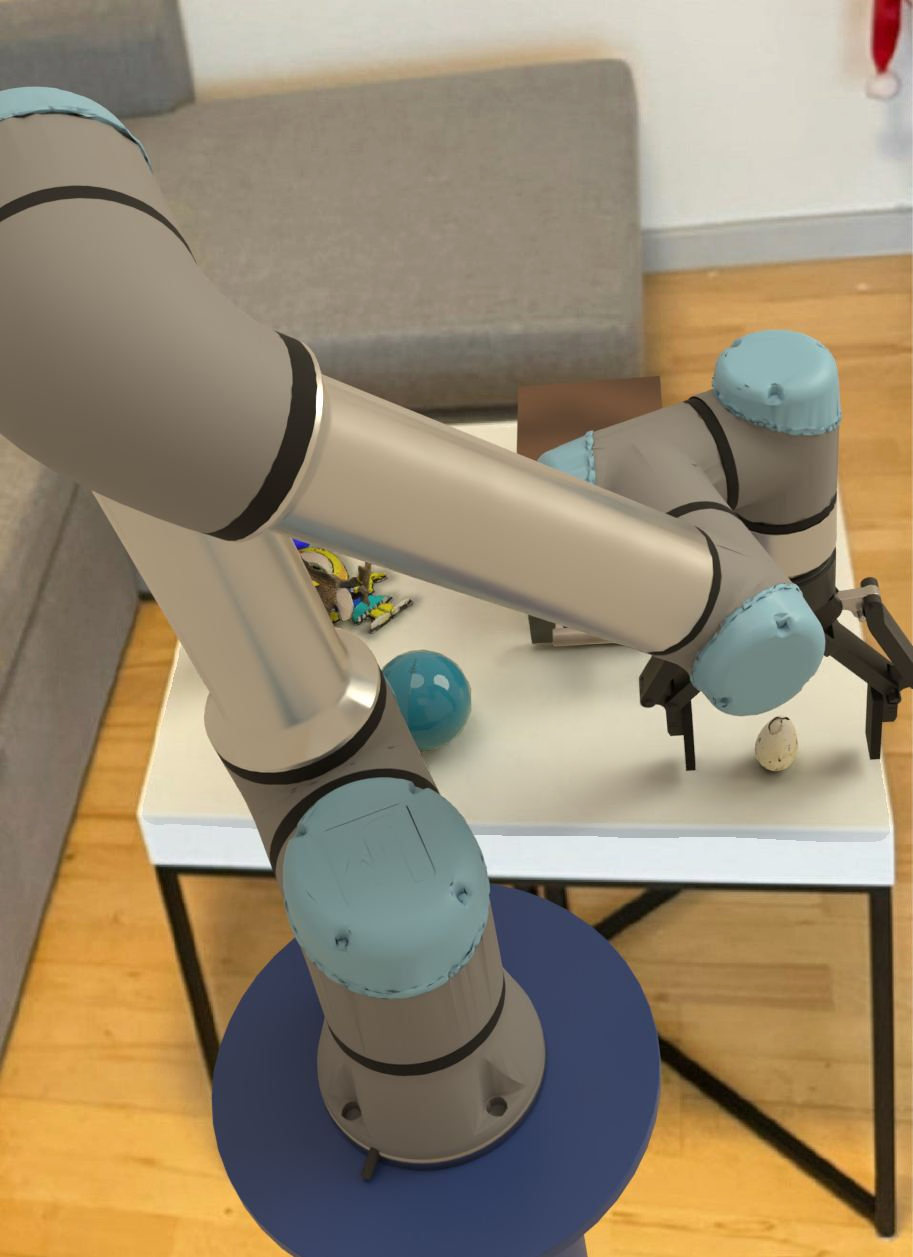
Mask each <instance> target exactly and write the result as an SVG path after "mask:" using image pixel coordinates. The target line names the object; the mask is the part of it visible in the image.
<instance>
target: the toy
mask: <svg viewBox="0 0 913 1257" xmlns="http://www.w3.org/2000/svg"><path fill="white" fill-rule="evenodd" d="M299 552H300V555H301V557H302V558H303V559H304V560H305V561H307V562H308V564H309V565H310V566H312V567H313V568H314V569H317V570H322V571H324V572H326V573H333V574H335V575H337V576H338V577H339V578H340V579H351V577H350V572H349V571H348V569H347V567H346V566H345V564H344V562H343V561H342V560H341V559H340V558H339V557H338V556H337V555H335V554H334V553H333V552H332V551H330V550H327V549H324V548H321V547H317V548H315V547H313V546H312V547H310V546H309V547H307V548H305V549H301V550H299ZM387 578H388V575H387V573H385V572H372V571H371V574H370V580H369V591H368V599H369V601H370V606H367V605H366V604H364V603H363V602H361V600H360V597H359V599H358V600H352V601H353V605H354V607H353V612H352V615H351V621H352V623H353V625H355V626H357V625H361V624H362V623H364V621H367V620H368V619H369V620H371V621H372V622H371V623H370V627H369V630H368V631H369V632H370V633H371V634H375V633H376V632H377V631H378V630H380V629H381V628H382V627H383V626H385V625H387V624H388V623H389V622H391V621H392V620H393V619H394V618H396V616H397V615H398V614H400V607H402V606H404V605H405V604H406V605H407V607H409V606H410V605H411V604H412V605H413V604H414V601H413V600H412V598H411V597H406V598H404V599H402V600H400V601H399V602H398V603H397V604H396V605H394V604H392V603H391V602H392V601H393V600H394V597H393V596H392V595H391V594H390V593H388V595H385V594H383V595H381V594H379V595H378V594H377V595H376V594H375V593H376V590H374V588H375V583H377V582H382V581H384V580H385V579H387ZM312 581H313V580H312ZM313 584H314V586H316V585H319V584H318V583H317V582H315V581H313ZM358 587H359V586H358ZM358 587H354V588H351V589H348V588H346V589H347V590H348V591H349V592H354V593H357V592H358V591H357V588H358ZM374 594H375V595H374ZM331 611H332V612H331V613H330V614H329V617H330V619H331V621H332V623H333V625H336V624H339V623H340V622H341V618H340V615H339V614H338V612H339V609H338V607H337V606H335V608H334V609H331Z"/></svg>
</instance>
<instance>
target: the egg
mask: <svg viewBox="0 0 913 1257" xmlns="http://www.w3.org/2000/svg"><path fill="white" fill-rule="evenodd" d="M798 751H799V738H798V733H797V730H796V727H795V724H794V722H793V721H792V719H791V718H790V717H788V716H787V715H782V714H780V715H776V716H774V717H772V718H771V719H770V720H769V721H768V722H767V723H766V724H765V725H764V726H763V727H762V728H761V729H760V732H759V733H758V735H757V737H756V739H755V744H754V754H755V758H756V760H757V762H758V763H759V764H760V766H761V767H763V768H764V769H766V770H768V771H771V772H779V771H783V770H785V769H787V768H789V767H790V766H791V765H792V764H793V762H794V761H795V760H796V758H797V756H798Z"/></svg>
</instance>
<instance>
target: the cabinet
mask: <svg viewBox="0 0 913 1257" xmlns="http://www.w3.org/2000/svg"><path fill="white" fill-rule="evenodd" d="M662 408H663V396H662V381H661V376H660V375H653V376H650V375H649V376H641V377H640V376H638V377H625V378H615V379H614V378H612V379H602V380H589V381H587V380H586V381H576V382H563V383H551V384H539V385H537V384H536V385H525V386H518V387H517V416H516V418H517V420H516V421H517V422H516V423H517V424H516V453H517V454H520V455H522V456H525V457H527V458H530V459H532V460H535V461H537V460H538V458H539V457H540V456H541V455H542V454H544V453H545V452H547V451H549V450H552V449H554V448H557V447H559V446H560V445H563V444H565V443H567V442H570V441H572V440H575V439H577V438H580V437H582V436H585V434H586V433H587V432H588V431H593V432H595V431H598V430H601V429H604V428H607V427H610V426H613V425H616V424H619V423H622V422H625V421H627V420H630V419H633V418H636V417H639V416H642V415H645V414H648V413H650V412H653V411H656V410H659V409H662Z"/></svg>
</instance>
